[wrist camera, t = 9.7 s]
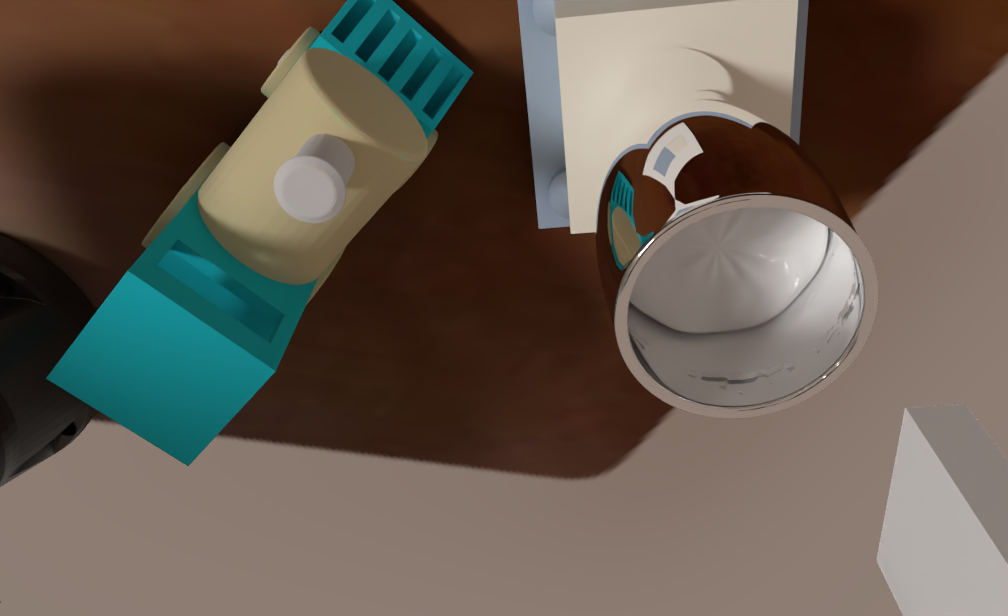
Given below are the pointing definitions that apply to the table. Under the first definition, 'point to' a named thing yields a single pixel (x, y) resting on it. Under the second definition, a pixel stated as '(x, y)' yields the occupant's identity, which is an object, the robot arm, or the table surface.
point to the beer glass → (721, 245)
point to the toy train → (263, 228)
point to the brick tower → (616, 41)
